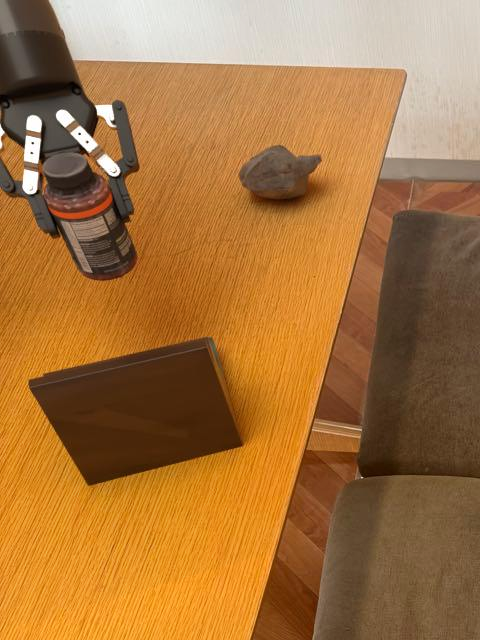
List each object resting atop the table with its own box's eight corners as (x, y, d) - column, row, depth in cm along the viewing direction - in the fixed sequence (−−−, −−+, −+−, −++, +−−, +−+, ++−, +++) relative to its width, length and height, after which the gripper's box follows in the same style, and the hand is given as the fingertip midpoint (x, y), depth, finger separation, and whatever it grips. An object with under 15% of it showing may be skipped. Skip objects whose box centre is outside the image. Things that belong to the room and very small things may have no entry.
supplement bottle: (82, 249, 93) (35, 147, 83) (141, 244, 93) (101, 142, 84) (75, 286, 89) (25, 183, 80) (137, 281, 90) (95, 178, 81)
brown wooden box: (75, 389, 101) (20, 288, 89) (219, 356, 104) (183, 255, 93) (88, 485, 93) (28, 388, 81) (243, 445, 96) (207, 347, 85)
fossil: (320, 172, 127) (309, 117, 121) (333, 207, 122) (323, 153, 116) (241, 186, 125) (226, 131, 118) (251, 223, 120) (236, 167, 113)
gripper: (-76, 42, 77) (2, 238, 80) (97, 14, 81) (165, 202, 84) (-50, 75, 84) (21, 254, 87) (108, 48, 88) (170, 220, 91)
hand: (91, 228), depth 86 cm, fingers closed on supplement bottle, 6 cm apart
